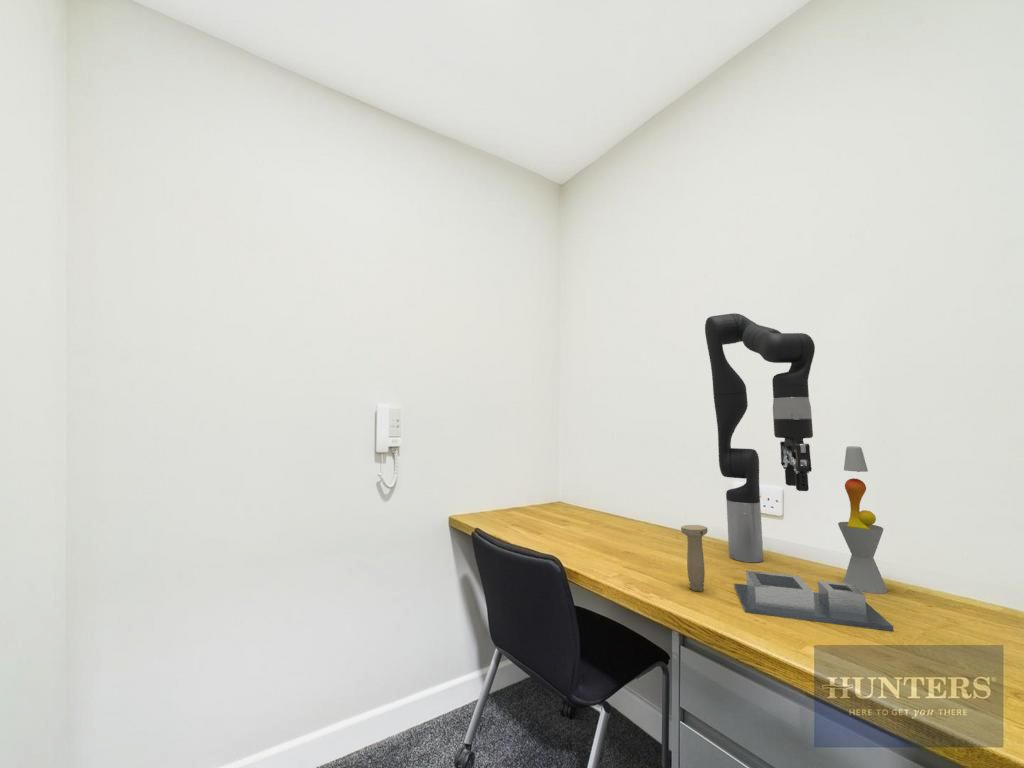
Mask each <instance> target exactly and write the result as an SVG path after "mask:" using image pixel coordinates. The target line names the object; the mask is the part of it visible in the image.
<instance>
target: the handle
mask: <svg viewBox="0 0 1024 768" xmlns="http://www.w3.org/2000/svg"><path fill="white" fill-rule="evenodd" d="M680 531H681V533H683V534H684V535H685V536H686V537H687V552H686V553H687V557H686V561H687V563H686V564H687V565H686V566H687V577H688V583H689V584H688V585H689V589H690V590H693V592H703V590H704V588H705V585H704V584H705V574H706V573H705V558H704V548H703V536H706V534H707V533H708V526H704V525H699V524H688V525H687V524H686V525H682V526H681V527H680Z"/></svg>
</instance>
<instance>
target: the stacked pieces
mask: <svg viewBox="0 0 1024 768" xmlns="http://www.w3.org/2000/svg"><path fill="white" fill-rule="evenodd" d="M843 471H846V472H847V471H848V472H856V473H860V472H863V473H865V472H869V470H868V466H867V463H866V459H865V454H864V452H863V449H862V447H861V446H852V445H851V446H846V449H845V457H844V465H843ZM844 488H845V492H846V494H847V497H848V500H849V503H850V504H849V506H850V514H849V519H848V521H840V522H837V524H838V528H839V530H840V532H841V534H842V536H843V539H844V540H845V543H846V545H847V547H848V549H849V551H850V553H851V556H850V558H849V562H848V565H847V569H846V572H845V576H844V578H843V581H842V583H845V584H852V585H854V586H855V587H856V588H857V589H858V590H860V591H861V592H862V593H869V594H879V595H880V594H882V595H883V594H887V593H888V592H889V590H888V589H887V588H888V587H886V584H885V581H884V579H883V577H882V574H881V573H880V570H879V567H878V566H877V563H876V561H875V559H874V557H875V554H876V551H877V549H878V546H879V543H880V540H881V537H882V535H883V532H884V528H883V527H882V526H879V525H875V523H876V521H877V518H876V515H875V514H874V513H873V512H872V511H870V510H864V509H863V510H861V511H860V504H861V502H862V499H863V496H864V495H865V493H866V492H867V486H866V484H865V482H864V481H862V480H861V479H859V478H849V479H847V480H846V482H844Z"/></svg>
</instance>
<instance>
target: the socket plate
mask: <svg viewBox="0 0 1024 768" xmlns="http://www.w3.org/2000/svg"><path fill="white" fill-rule="evenodd" d="M745 572H746V573H745V576H746V577H745V579H746V584H742V583H734V584H733V585H734V589H735V592H736V593H737V596H738V599H739V601H740V603H741V606H742V608H743V610H744V612H745V613H747V612H748V614H749V613H750V614H755V615H757V614H758V615H764V616H770V617H771V616H773V617H779V618H788V619H793V620H794V619H795V620H803V621H811V622H819V623H826V624H832V623H833V624H834V625H840V626H849V627H857V628H864V629H865V628H866V629H873V630H880V631H886V632H888V631H889V632H894V625H892V624H891V623H890V622H889V621H888V620H887V619H886V618H884V616H882V615H881V614H880V613H879V612H877V610H876V609H874V608H873V607H872V606H871V605H870V604H868V602H866V595H865V593H864V592H862V591H860V590H858V589H857V588H856V587H855V586H854V585H852V584H845V583H843V582H834V581H824V580H817V585H818V586H817V587H818V589H817V590H818V591H817V592H816V591H812V589H811V588H810V587H809V586H808V585H807V584H806V583H805V582H804V581H803V579H802V578H801V577H800V576H799V575H793V574H792V575H791V574H784V573H775V572H774V573H773V572H764V571H753V570H745Z"/></svg>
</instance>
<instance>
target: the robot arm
mask: <svg viewBox="0 0 1024 768" xmlns="http://www.w3.org/2000/svg"><path fill="white" fill-rule="evenodd" d="M704 334H705V340H706V346H707V351H708V356H709V363H710V369H711V376H712V377H711V378H712V392H713V394H712V395H713V403H714V410H715V415H716V416H715V418H716V424H717V425H716V426H717V440H718V441H717V443H718V444H717V447H718V449H717V450H718V466H719V470H720V473H721V475H722V476H723V477H725V478H731V479H744V480H746V481H745V483H744V484H743V485H741V486H739V487H734V488H730V489H727V490H726V491H725V496H726V497H725V498H726V499H725V500H726V515H727V516H726V518H727V537H728V539H727V540H728V556H729V557H730V558H731V559H733V560H736V561H740V562H746V563H760V562H763V561H764V549H763V547H764V544H763V529H762V527H763V525H762V512H761V495H760V494H761V493H760V489H761V488H760V458H759V454H758V452H757V451H756V449H754V448H737V447H733V448H732V447H731V446H732V443H731V442H732V437H733V434H734V433H735V430H736V428H738V427H737V426H738V425H739V424H740V422H741V421H742V419H743V417H744V415H745V414H746V412H747V409H748V407H749V404H748V394H747V387H746V386H747V385H746V384H745V382H744V380H743V379H742V377H741V376H740V375H739V374H738V373H737V372H736V370H735V369H734V368H733V367H732V365H730V362H729V361H728V359H727V358H726V355H725V352H724V351H725V350H724V348H723V347H724V345H732V344H737V343H741V342H742V343H743V345H744V346H745V347H746V349H747V350H750V351H751V352H754V353H756V354H759V355H760V356H761V358H763V360H764V361H766V362H769V363H774V364H786V363H787V364H790V367H789V369H788V371H786V372H781V373H778V374H775V375H774V376H773V377H772V383H771V384H772V394H773V395H772V397H773V400H772V401H773V402H772V403H773V404H772V417H773V433H774V434H773V435H774V437H775V438H778V439H784V441H783V440H782V441H781V440H780V442H779V445H780V465H781V466H782V468H783V469H784V478H785V479H784V480H785V484H786V486H790V487H791V486H792V487H795V489H796V491H799V492H808V491H809V474H810V472H812V470H813V469H812V460H811V449H810V447H811V446H810V444H809V443H804V440H805V439H812V438H813V437H814V431H813V419H812V405H811V401H810V395H809V394H810V393H809V376H810V372H811V368H812V364H813V361H814V355H815V350H816V347H815V342H814V340H813V338H812V337H811V336H810V335H809V334H807V333H805V332H804V333H803V332H793V333H792V332H789V333H787V332H786V333H785V332H781V331H780V330H778V329H775V328H772V327H767V326H764V325H760V324H758V323H756V322H754V321H753V320H751V319H750V318H748V317H746V316H745V315H743V314H741V313H735V312H734V313H725V314H719V315H711V316H709V317H708V318H706V321H705V324H704Z"/></svg>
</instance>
